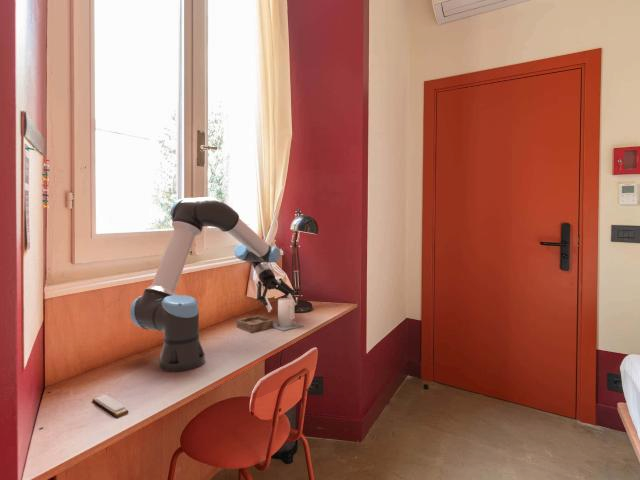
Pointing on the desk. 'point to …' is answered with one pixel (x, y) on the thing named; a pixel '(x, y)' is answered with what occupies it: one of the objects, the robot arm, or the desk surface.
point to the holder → (254, 323)
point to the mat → (295, 325)
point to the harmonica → (110, 406)
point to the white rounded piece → (285, 312)
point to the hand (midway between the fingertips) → (282, 308)
